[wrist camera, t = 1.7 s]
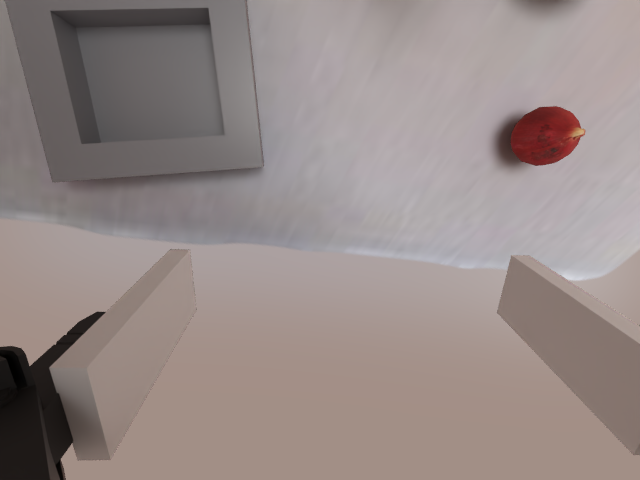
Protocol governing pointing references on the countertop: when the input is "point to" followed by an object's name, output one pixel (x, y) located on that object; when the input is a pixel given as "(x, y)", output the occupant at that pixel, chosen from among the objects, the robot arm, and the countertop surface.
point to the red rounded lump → (546, 135)
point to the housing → (139, 85)
